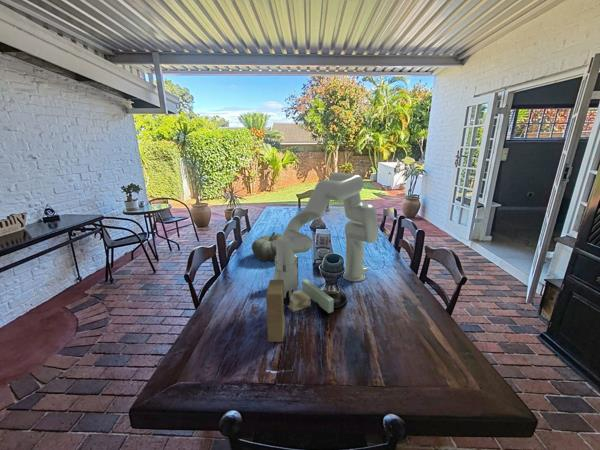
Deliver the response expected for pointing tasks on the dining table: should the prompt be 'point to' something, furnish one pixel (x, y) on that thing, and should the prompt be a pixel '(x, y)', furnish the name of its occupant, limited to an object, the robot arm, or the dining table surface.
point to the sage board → (318, 295)
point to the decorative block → (275, 310)
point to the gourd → (266, 247)
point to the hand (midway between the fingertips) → (286, 304)
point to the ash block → (299, 301)
